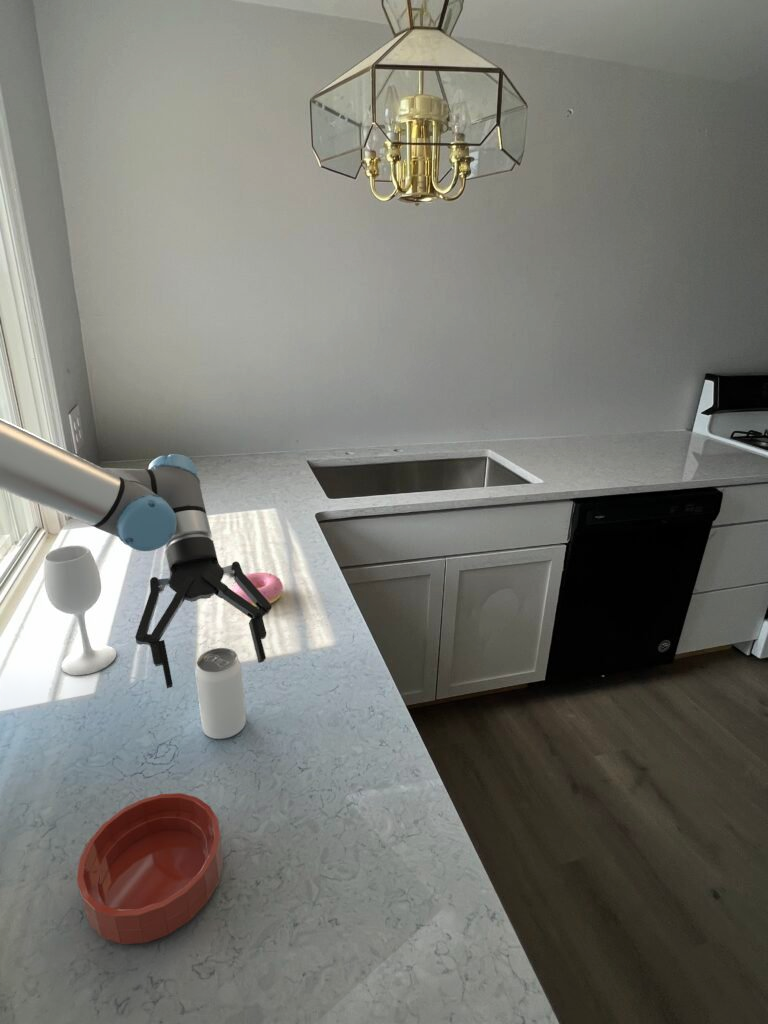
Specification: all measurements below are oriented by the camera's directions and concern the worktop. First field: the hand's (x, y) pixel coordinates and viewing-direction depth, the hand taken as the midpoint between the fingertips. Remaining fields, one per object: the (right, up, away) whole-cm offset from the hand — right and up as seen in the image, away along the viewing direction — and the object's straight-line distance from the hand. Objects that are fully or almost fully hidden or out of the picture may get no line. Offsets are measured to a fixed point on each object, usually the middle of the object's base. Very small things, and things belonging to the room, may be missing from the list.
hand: (217, 673), depth 83 cm
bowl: (0, -17, -21) cm, 27 cm away
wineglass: (-28, -2, +16) cm, 32 cm away
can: (+1, -8, +1) cm, 9 cm away
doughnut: (-2, +5, +37) cm, 38 cm away
